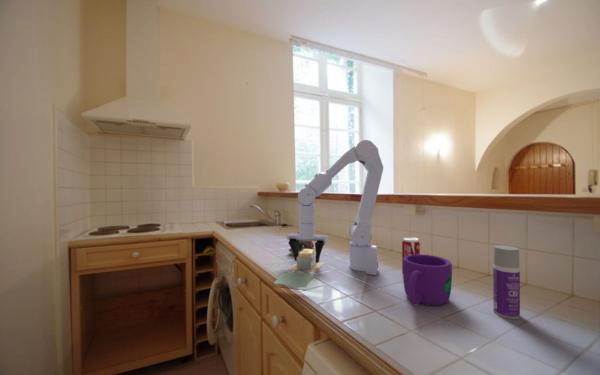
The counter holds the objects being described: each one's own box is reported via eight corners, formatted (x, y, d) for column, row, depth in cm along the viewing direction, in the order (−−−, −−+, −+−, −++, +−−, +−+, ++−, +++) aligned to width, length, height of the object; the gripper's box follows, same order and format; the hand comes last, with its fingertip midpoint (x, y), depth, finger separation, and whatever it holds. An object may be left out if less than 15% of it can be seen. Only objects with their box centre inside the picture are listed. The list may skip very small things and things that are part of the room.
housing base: (316, 263, 93) (316, 252, 93) (310, 270, 86) (310, 258, 86) (303, 262, 95) (303, 251, 95) (296, 268, 87) (296, 257, 87)
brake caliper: (281, 252, 103) (290, 226, 110) (292, 263, 111) (300, 238, 117) (306, 256, 98) (314, 228, 104) (316, 267, 106) (323, 240, 112)
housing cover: (315, 252, 93) (315, 249, 93) (309, 257, 86) (309, 254, 86) (304, 251, 94) (304, 248, 94) (298, 256, 88) (298, 253, 88)
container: (512, 321, 55) (512, 251, 55) (488, 311, 59) (488, 246, 59) (524, 316, 57) (524, 248, 57) (500, 307, 61) (500, 244, 61)
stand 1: (324, 265, 93) (324, 263, 93) (317, 275, 84) (317, 272, 84) (298, 263, 97) (298, 260, 97) (288, 272, 87) (288, 269, 87)
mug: (411, 286, 74) (411, 251, 74) (456, 297, 67) (456, 258, 67) (386, 307, 62) (385, 265, 61) (438, 324, 54) (438, 276, 54)
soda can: (399, 276, 82) (399, 238, 82) (405, 272, 86) (405, 236, 86) (416, 280, 79) (416, 241, 79) (422, 275, 83) (422, 238, 83)
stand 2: (315, 278, 81) (315, 275, 81) (305, 290, 72) (305, 287, 72) (285, 275, 84) (285, 272, 84) (273, 286, 75) (273, 283, 75)
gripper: (329, 221, 92) (329, 259, 92) (291, 220, 96) (291, 256, 96) (325, 224, 85) (325, 265, 85) (284, 222, 90) (284, 261, 90)
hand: (306, 261), depth 90 cm, fingers open, 7 cm apart
